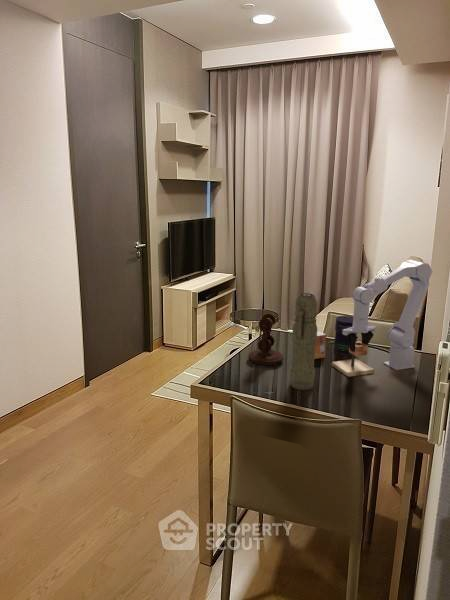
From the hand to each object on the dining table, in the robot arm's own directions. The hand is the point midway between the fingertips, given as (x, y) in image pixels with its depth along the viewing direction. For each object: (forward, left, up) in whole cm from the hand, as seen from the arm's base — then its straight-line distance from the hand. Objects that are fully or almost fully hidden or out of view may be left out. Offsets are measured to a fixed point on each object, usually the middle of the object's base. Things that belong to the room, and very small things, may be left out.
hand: (357, 350), depth 187 cm
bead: (0, 0, -1) cm, 1 cm away
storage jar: (-9, -21, -9) cm, 24 cm away
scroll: (+30, -21, -9) cm, 38 cm away
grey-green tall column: (+27, +5, -9) cm, 29 cm away
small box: (+8, -19, -9) cm, 23 cm away
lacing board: (0, -2, -9) cm, 9 cm away
